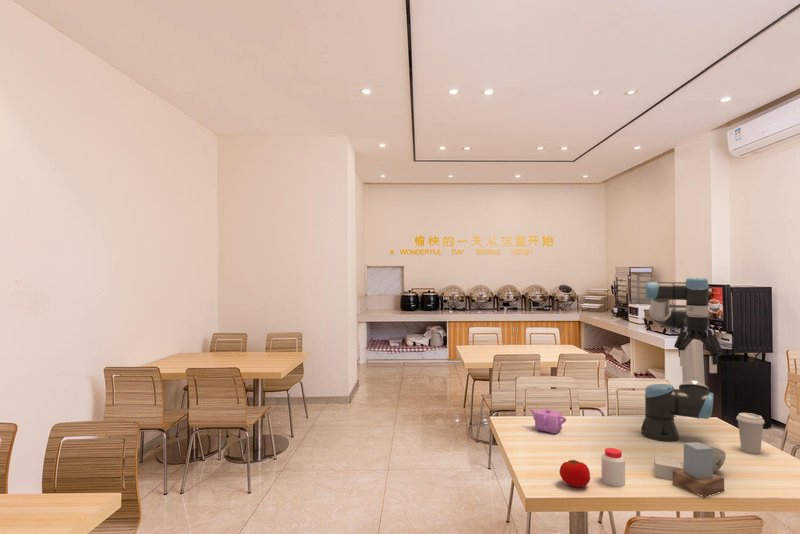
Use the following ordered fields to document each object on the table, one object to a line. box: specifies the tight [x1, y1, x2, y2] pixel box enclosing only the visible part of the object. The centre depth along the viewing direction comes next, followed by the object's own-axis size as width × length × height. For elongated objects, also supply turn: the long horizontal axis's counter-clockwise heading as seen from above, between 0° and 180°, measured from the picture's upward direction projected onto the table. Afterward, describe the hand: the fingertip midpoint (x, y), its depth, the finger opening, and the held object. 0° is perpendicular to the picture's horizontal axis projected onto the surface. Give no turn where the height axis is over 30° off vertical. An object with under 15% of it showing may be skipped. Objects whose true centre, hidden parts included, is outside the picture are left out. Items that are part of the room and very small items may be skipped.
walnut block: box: [672, 467, 725, 499], centre depth 159 cm, size 11×11×5 cm
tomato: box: [559, 459, 591, 488], centre depth 161 cm, size 9×10×8 cm
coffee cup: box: [736, 412, 766, 455], centre depth 193 cm, size 10×10×15 cm
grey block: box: [653, 455, 682, 481], centre depth 170 cm, size 8×8×5 cm
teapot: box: [528, 408, 567, 435], centre depth 219 cm, size 18×14×10 cm
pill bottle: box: [601, 447, 626, 487], centre depth 164 cm, size 8×8×11 cm
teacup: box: [705, 444, 727, 474], centre depth 175 cm, size 15×12×8 cm
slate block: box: [683, 441, 714, 479], centre depth 159 cm, size 6×6×10 cm
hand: (697, 369), depth 182 cm, fingers open, 13 cm apart
